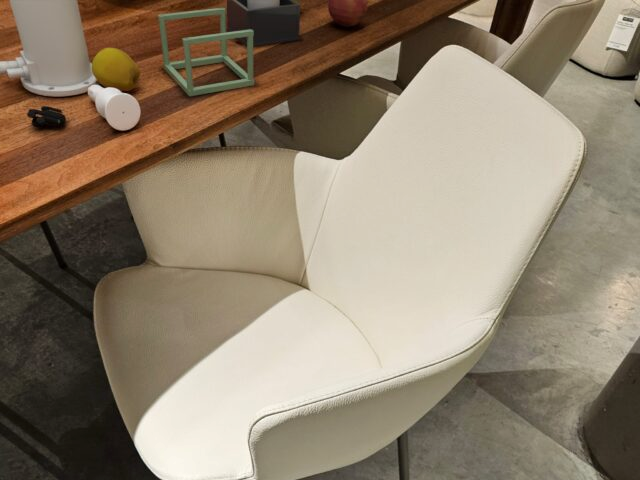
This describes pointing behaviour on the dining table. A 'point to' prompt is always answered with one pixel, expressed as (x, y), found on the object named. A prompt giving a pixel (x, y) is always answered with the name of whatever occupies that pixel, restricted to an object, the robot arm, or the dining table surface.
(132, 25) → the dining table surface
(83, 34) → the robot arm
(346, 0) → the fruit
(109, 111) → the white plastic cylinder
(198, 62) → the rack
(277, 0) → the travel mug
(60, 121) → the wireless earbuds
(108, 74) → the lemon
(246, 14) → the dark grey storage box
